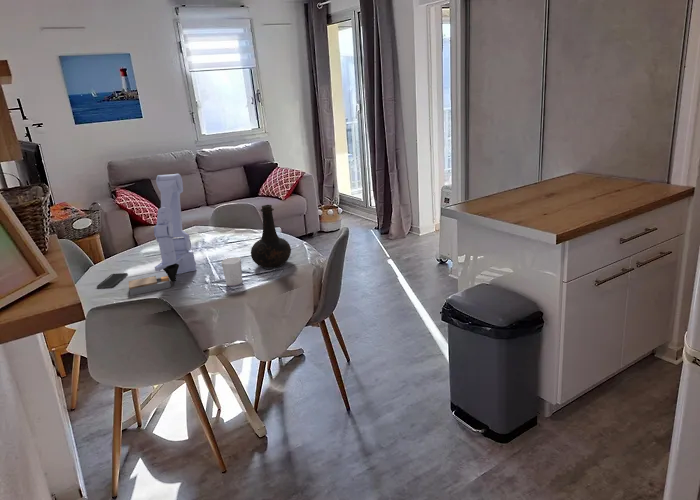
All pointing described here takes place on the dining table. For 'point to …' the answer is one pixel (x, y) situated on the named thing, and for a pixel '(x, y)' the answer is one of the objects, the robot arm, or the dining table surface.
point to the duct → (151, 287)
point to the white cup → (232, 271)
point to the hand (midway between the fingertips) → (173, 281)
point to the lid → (142, 282)
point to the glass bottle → (270, 244)
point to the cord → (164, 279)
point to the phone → (112, 280)
